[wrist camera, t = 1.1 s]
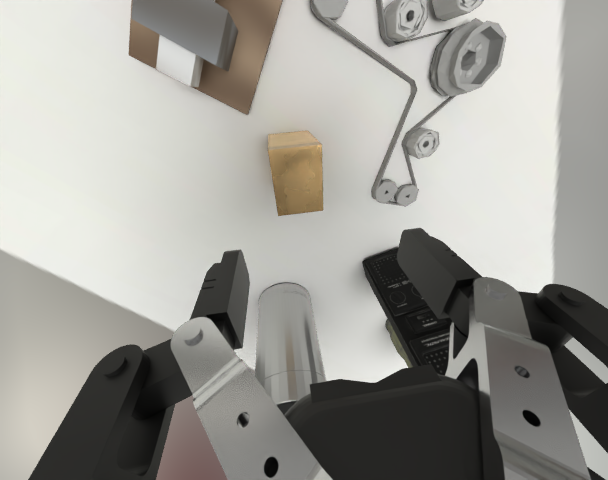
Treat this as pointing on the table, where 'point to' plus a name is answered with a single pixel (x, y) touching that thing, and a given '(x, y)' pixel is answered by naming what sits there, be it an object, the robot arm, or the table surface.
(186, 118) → the table surface
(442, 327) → the portable radio
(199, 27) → the shaft mount
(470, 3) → the pulley system
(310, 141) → the tan rectangular block
